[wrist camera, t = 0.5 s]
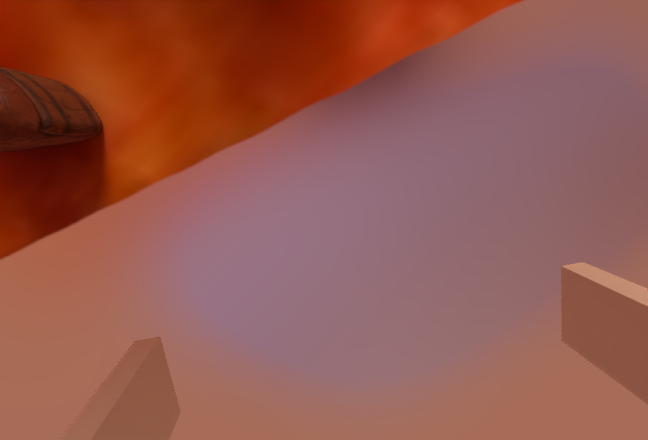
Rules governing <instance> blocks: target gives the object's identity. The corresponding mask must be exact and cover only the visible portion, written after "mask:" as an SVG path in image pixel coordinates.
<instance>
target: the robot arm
mask: <svg viewBox="0 0 648 440" xmlns="http://www.w3.org/2000/svg"><path fill="white" fill-rule="evenodd" d="M561 289H562V290H561V296H562V297H561V298H562V299H561V302H562V303H561V306H562V307H561V309H562V341H563V342H564V343H565V344H567V345H568V346H569V347H571V348H572V349H574V350H575V351H576V352H578V353H579V354H580V355H582V356H583V357H584V358H586V359H587V360H588V361H590V362H591V363H593V364H594V365H595V366H597V367H598V368H599V369H601V370H602V371H603V372H605V373H606V374H607V375H609V376H610V377H611V378H613V379H614V380H615V381H617V382H618V383H619V384H621V385H622V386H624V387H625V388H626V389H628V390H629V391H630V392H632V393H633V394H634V395H636V396H637V397H638V398H640V399H641V400H643V401H644V402H645V403H646V404H648V289H646V288H644V287H641V286H639V285H637V284H634V283H632V282H630V281H627V280H625V279H622V278H620V277H618V276H615V275H613V274H610V273H608V272H606V271H603V270H601V269H598V268H596V267H594V266H591V265H589V264H586V263H584V262H582V263H576V264H571V265H565V266H561ZM179 415H180V408H179V404H178V401H177V397H176V393H175V390H174V386H173V382H172V379H171V375H170V371H169V368H168V364H167V360H166V357H165V354H164V350H163V346H162V343H161V338H160V337H156V338H151V339H145V340H139V341H135V342H134V343H133V345H132V346H131V347H130V348H129V350H128V351H127V352H126V354H125V355H124V356H123V357H122V359H121V360H120V361H119V362H118V364H117V365H116V366H115V368H114V369H113V370H112V371H111V373H110V374H109V375H108V377H107V378H106V379H105V381H104V382H103V383H102V384H101V385H100V387H99V388H98V389H97V391H96V392H95V393H94V394H93V396H92V397H91V398H90V399H89V401H88V402H87V403H86V405H85V406H84V407H83V408H82V410H81V411H80V412H79V414H78V415H77V416H76V417H75V419H74V420H73V421H72V423H71V424H70V425H69V426H68V428H67V429H66V430H65V431H64V433H63V434H62V435H61V436H60V438H59V439H58V440H169V439H170V437H171V434H172V432H173V429H174V427H175V424H176V422H177V419H178V417H179Z"/></svg>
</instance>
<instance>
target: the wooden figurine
mask: <svg viewBox="0 0 648 440" xmlns="http://www.w3.org/2000/svg"><path fill="white" fill-rule="evenodd" d="M101 130H102V123H101V120H100V118H99V116H98V115H97V113H96V112H95V110H94V109H93V108H92V106H91V105H90V103H89V102H88V101H87V100H86V99H85V98H84V97H83V96H81V95H80V94H79V93H78V92H77V91H75V90H74V89H72V88H71V87H69V86H67V85H65V84H63V83H61V82H59V81H56V80H53V79H49V78H45V77H40V76H37V75H33V74H29V73H25V72H20V71H17V70H12V69H7V68H1V67H0V152H5V151H18V150H26V149H33V148H38V147H44V146H50V145H59V144H66V143H72V142H78V141H82V140H86V139H90V138H93V137H95V136H96V135H98V133H100V132H101Z"/></svg>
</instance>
